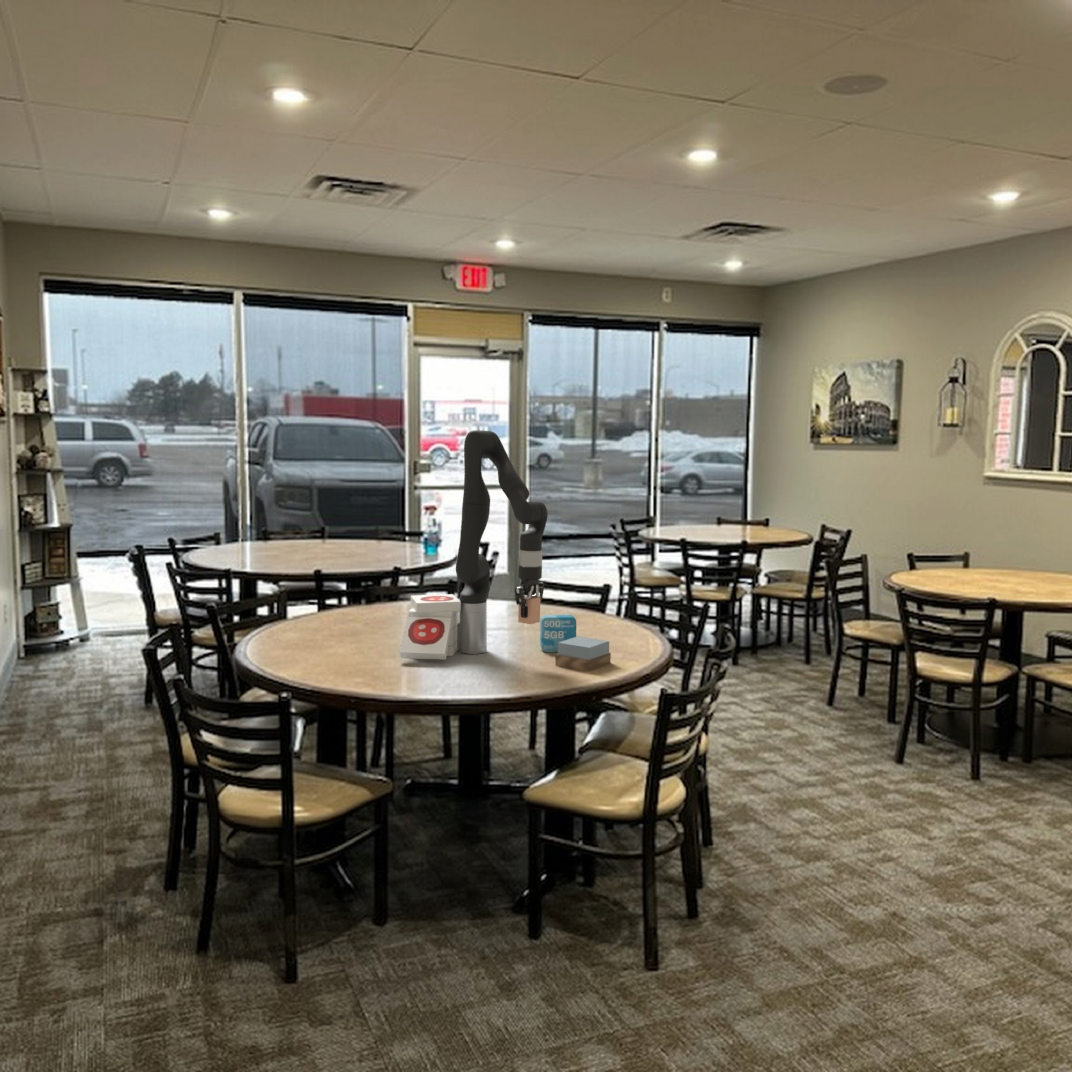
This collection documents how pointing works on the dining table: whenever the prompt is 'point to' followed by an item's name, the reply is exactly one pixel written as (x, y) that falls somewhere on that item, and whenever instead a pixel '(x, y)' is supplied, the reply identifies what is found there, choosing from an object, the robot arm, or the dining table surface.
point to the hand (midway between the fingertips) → (529, 615)
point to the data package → (556, 631)
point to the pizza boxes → (431, 627)
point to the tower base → (582, 662)
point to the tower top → (583, 648)
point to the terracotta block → (531, 611)
